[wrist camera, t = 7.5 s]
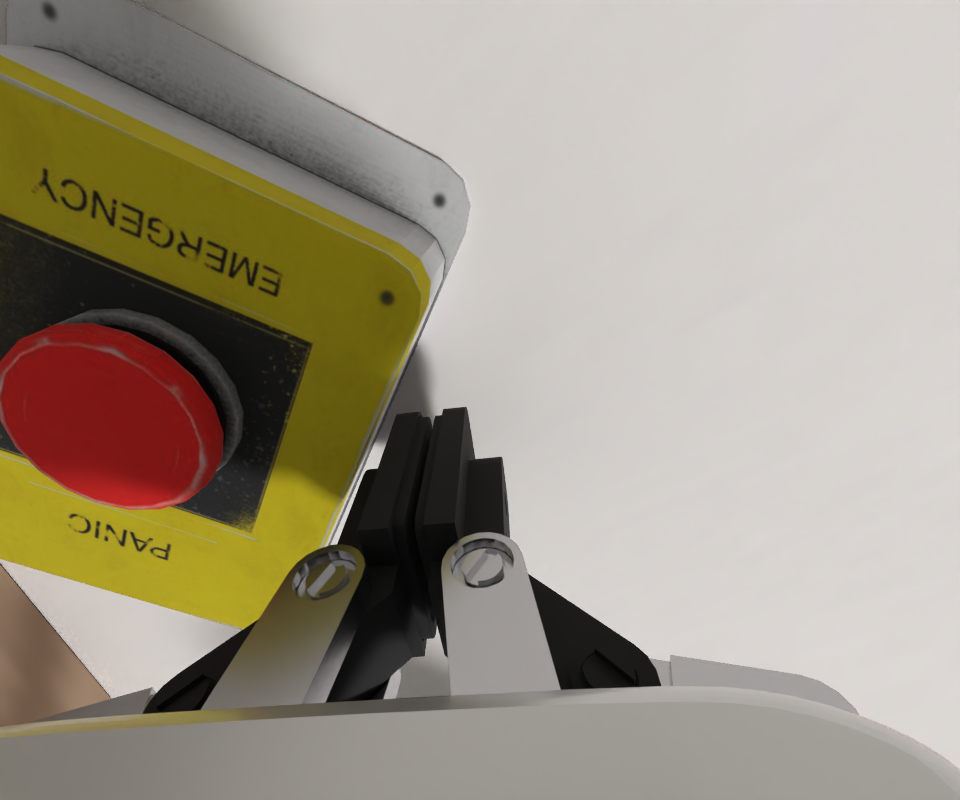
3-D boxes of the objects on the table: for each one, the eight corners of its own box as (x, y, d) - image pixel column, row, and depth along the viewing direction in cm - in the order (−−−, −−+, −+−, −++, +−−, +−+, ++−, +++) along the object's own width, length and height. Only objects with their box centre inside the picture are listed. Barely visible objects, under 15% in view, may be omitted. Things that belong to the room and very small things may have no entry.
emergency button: (487, 202, 7) (253, 731, 13) (487, 181, 11) (306, 598, 17) (-313, -203, 5) (-131, 633, 12) (36, -52, 9) (25, 510, 15)
